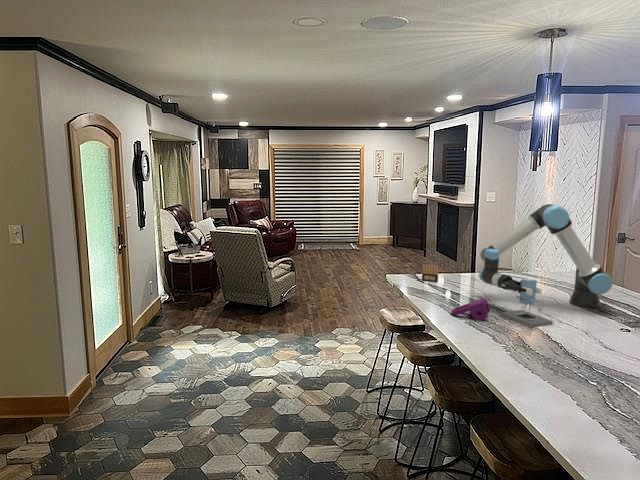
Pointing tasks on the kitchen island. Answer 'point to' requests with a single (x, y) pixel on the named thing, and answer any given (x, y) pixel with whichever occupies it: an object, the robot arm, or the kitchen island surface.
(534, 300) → the block
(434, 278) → the ammunition clip
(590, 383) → the kitchen island surface
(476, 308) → the mounting bracket
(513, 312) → the plate
